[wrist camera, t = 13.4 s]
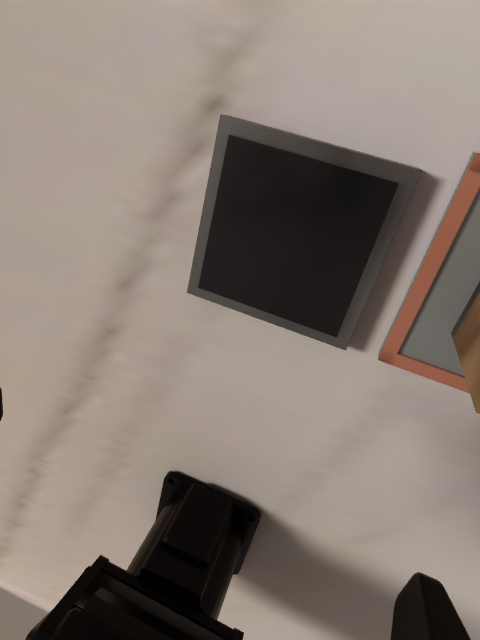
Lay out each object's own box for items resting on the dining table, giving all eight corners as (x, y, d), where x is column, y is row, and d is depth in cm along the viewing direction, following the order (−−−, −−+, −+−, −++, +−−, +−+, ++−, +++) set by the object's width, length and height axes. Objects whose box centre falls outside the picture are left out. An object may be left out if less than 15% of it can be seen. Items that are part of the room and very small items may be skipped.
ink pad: (347, 342, 20) (345, 353, 19) (193, 287, 21) (184, 294, 20) (420, 168, 16) (422, 171, 15) (227, 115, 17) (217, 114, 16)
